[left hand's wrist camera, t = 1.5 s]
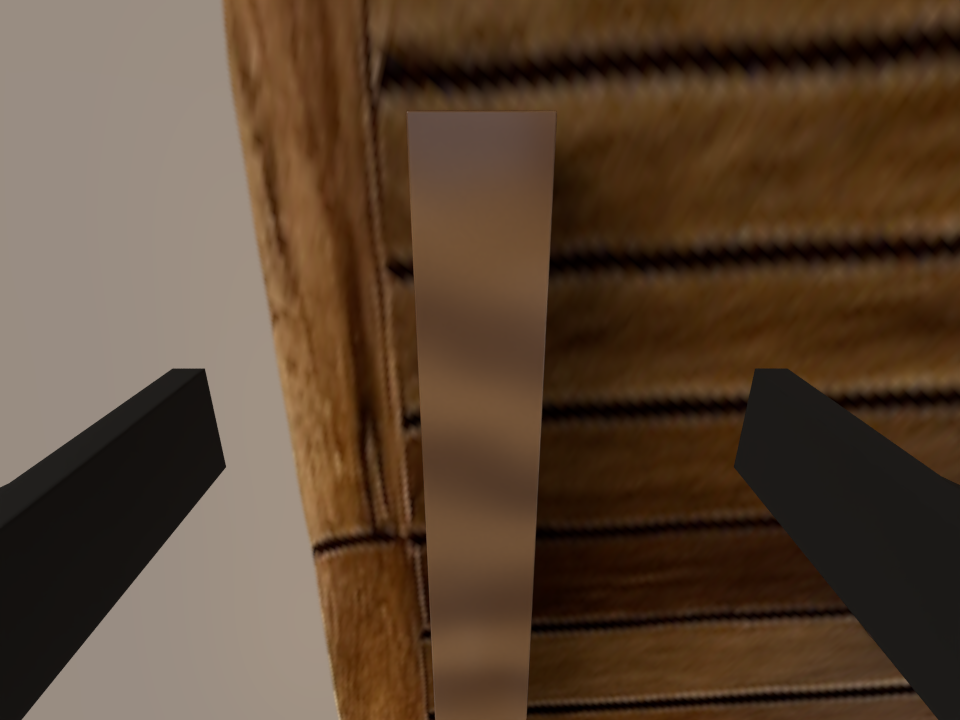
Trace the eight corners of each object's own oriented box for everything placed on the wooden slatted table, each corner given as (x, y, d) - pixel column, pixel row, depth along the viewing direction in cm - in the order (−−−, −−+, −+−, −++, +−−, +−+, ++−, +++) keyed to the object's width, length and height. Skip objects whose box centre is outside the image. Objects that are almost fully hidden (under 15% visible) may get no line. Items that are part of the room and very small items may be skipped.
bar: (427, 123, 24) (405, 110, 17) (534, 123, 24) (557, 110, 17) (454, 911, 50) (450, 1037, 43) (506, 911, 50) (510, 1037, 43)
